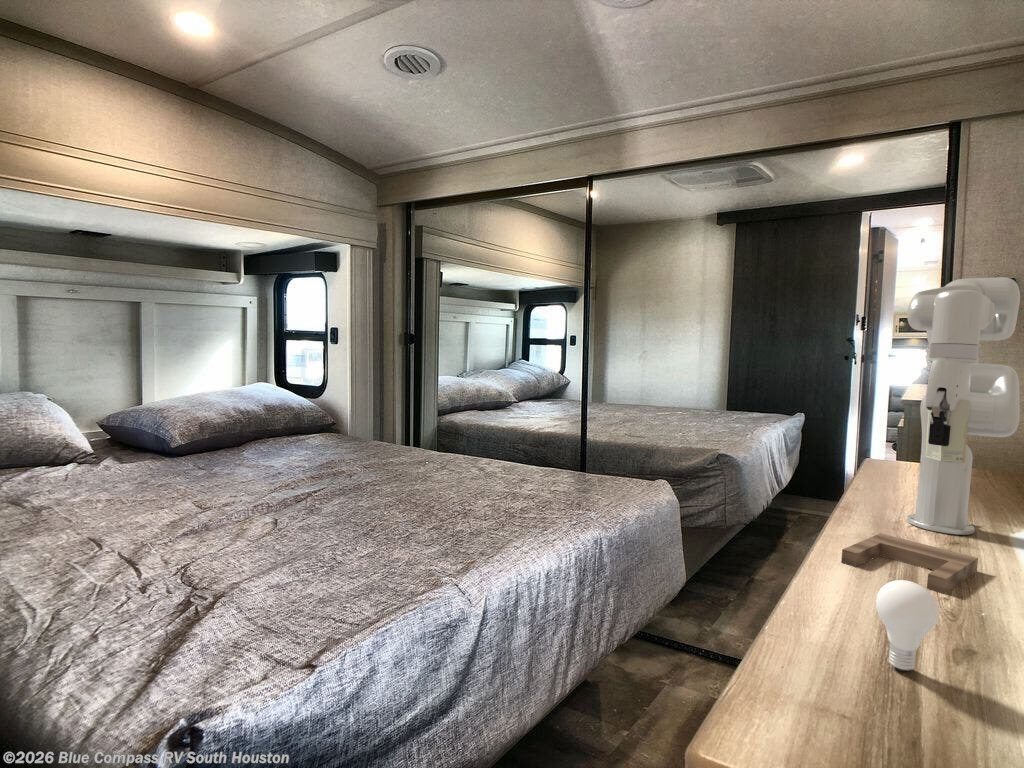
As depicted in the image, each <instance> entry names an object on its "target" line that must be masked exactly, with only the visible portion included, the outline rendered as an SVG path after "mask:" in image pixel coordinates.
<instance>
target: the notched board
mask: <svg viewBox="0 0 1024 768" xmlns="http://www.w3.org/2000/svg"><path fill="white" fill-rule="evenodd" d="M841 551H842V552H841V561H840V562H841V563H842V564H845V563H846V564H845V565H848V566H851V565H852V567H855V566H857V567H858V565H859V566H861V565H862V563H863V564H865V563H867V562H869V561H871V560H873V559H875V558H877V557H879V555H881V557H884V556H885V558H887V557H888V559H891V558H892V559H891V560H894V559H895V560H894V561H898V560H899V562H901V561H902V562H901V563H905V562H906V564H908V563H909V565H912V564H913V566H916V565H917V566H916V567H919V566H921V567H920V568H923V567H924V569H926V568H929V569H928V570H930V569H932V570H931V572H929V573H928V574H927V583H926V590H930V591H934V592H937V593H940V594H946V593H948V592H950V591H951V590H952V589H954V588H955V587H957V586H959V584H961V583H962V582H963V581H965V580H967V579H968V578H969V577H971V576H972V575H973V574H975V573H976V572H978V563H979V562H978V561H979V557H976V556H972V555H968V554H964V553H960V552H957V551H952V550H948V549H945V548H940V547H937V546H934V545H933V546H932V545H928V544H925V543H921V542H916V541H913V540H908V539H906V538H901V537H897V536H893V535H890V534H885V533H881V532H880V533H878V534H876V535H873V536H871V537H869V538H866V539H864V540H862V541H859V542H857V543H853V544H852V545H849V546H847V547H845V548H844V547H843V548H842V550H841ZM872 558H873V559H872ZM864 562H865V563H864ZM860 564H861V565H860ZM933 570H934V571H933Z"/></svg>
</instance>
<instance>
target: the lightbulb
mask: <svg viewBox="0 0 1024 768" xmlns="http://www.w3.org/2000/svg"><path fill="white" fill-rule="evenodd" d="M875 607H876V611H877V614H878V616H879V618H880V620H881V622H882V624H883V625H884V627H885V629H886V635H887V639H888V641H889V649H888V650H889V652H888V662H889V664H890V665H892V666H893V667H894V668H895V669H897V670H899V671H901V672H909V671H912V670H914V669H915V664H916V657H917V656H916V654H917V649H918V648H920V645H921V642H922V640H923V638H924V637H925V636H926V635H927V634H928V633H930V632H931V631H932V630H933V629H934V627H936V625H937V623H938V620H939V616H940V613H939V612H940V611H939V606H938V603H937V601H936V600H935V598H934V596H933V595H932V594H931V593H930V591H929V590H928V589H927V588H925V587H924V586H922V585H920V584H919V583H916V582H913V581H911V580H905V579H895V580H891V581H889V582H887V583H884V585H882V586H881V587H880V589H879V590H878V592H877V594H876V596H875Z"/></svg>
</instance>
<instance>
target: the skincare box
mask: <svg viewBox="0 0 1024 768" xmlns="http://www.w3.org/2000/svg"><path fill="white" fill-rule="evenodd" d="M947 405H948V402H947V400H946V399H945V400H944V404H943V406H942V408H943V409H948V408H949V406H947ZM968 407H969V400H960V404H959V407H958V410H957V411H956V412H952V413H951V417H950V421H949V426H951V429H950V439H949V445H948V446H939V445H932V444H929V443H928V440H929V429H930V419H931V412H932V410H928V424H927V440H926V455H925V457H928V458H932V459H935V460H939V461H944V462H954V463H965V453H966V444H967V437H968V436H967V435H968V434H967V422H968ZM945 415H946V413H945V414H944V416H945Z"/></svg>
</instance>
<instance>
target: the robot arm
mask: <svg viewBox="0 0 1024 768" xmlns="http://www.w3.org/2000/svg"><path fill="white" fill-rule="evenodd" d="M911 298H912V299H910V302H909V304H908V306H907V311H906V312H907V316H906V317H907V323H908V325H909V326H910V328H912V329H913V330H915V331H922V332H923V331H925V332H926V337H927V339H926V340H927V343H928V347H929V359H928V361H931V364H930V368H929V373H928V379H927V385H926V391H925V395H924V396H923V398H922V399H921V400H920V401H921V402H920V406H919V407H920V408H919V409H920V410H919V411H920V422H921V423H920V424H921V447H920V459H919V472H918V483H917V494H916V507H915V513H913V514H912V513H911V514H908V515H907V516H906V521H907V523H909V524H911V525H912V526H915V527H918V528H920V529H924V530H928V531H932V532H937V533H942V534H948V535H960V536H961V535H962V536H966V535H972V534H974V533H975V531H976V529H975V526H973V525H972V524H970V523H968V522H967V520H968V511H969V501H970V499H969V498H970V490H971V489H970V488H971V480H972V479H971V478H972V470H973V469H972V468H973V461H974V460H973V457H974V456H973V453H972V450H971V448H970V446H968V444H967V443H966V453H965V463H954V462H944V461H939V460H935V459H932V458H928V457H925V455H926V440H927V424H928V410H932V412H931V419H930V429H929V440H928V443H929V444H932V445H939V446H948V445H949V439H950V429H951V426H949V421H950V417H951V413H952V412H956V411H957V410H958V407H959V404H960V400H969V407H968V422H967V435H972V436H982V437H993V438H1007V437H1011V436H1012V435H1013V434H1014V433H1016V431H1017V429H1018V427H1019V423H1020V411H1021V410H1020V407H1021V406H1020V380H1019V374H1018V372H1017V371H1016V370H1015V369H1014V368H1013V367H1012V366H1010V365H1006V364H998V363H997V364H996V363H995V364H994V363H979V348H980V341H1005V340H1008V339H1009V338H1011V337H1012V335H1013V334H1014V332H1015V330H1016V326H1017V322H1018V321H1017V320H1018V314H1019V309H1020V303H1021V302H1020V301H1021V291H1020V288H1019V285H1018V284H1017V282H1016V281H1015V279H1012V278H1009V277H1003V276H1002V277H999V276H998V277H978V278H977V277H972V278H971V277H969V278H967V277H966V278H960V279H959V278H958V279H955V280H952V281H950V282H949V283H947V284H946V285H945V286H941V287H937V288H931V289H925V290H922V291H918V292H916V293H915V294H914V295H913V297H911ZM945 399H946V400H947V402H948V405H947V406H949V408H948V409H943V408H942V406H943V404H944V400H945ZM945 413H946V415H945V416H944V414H945Z"/></svg>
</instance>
